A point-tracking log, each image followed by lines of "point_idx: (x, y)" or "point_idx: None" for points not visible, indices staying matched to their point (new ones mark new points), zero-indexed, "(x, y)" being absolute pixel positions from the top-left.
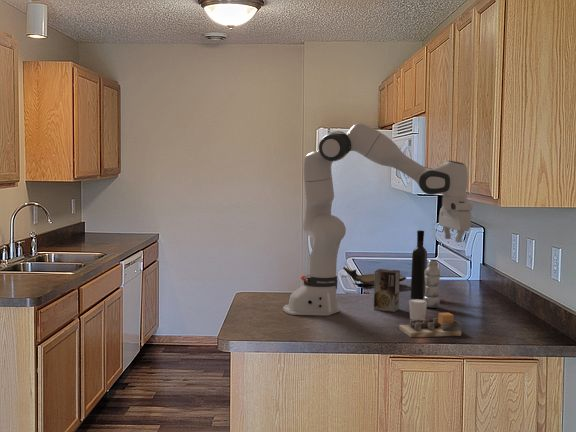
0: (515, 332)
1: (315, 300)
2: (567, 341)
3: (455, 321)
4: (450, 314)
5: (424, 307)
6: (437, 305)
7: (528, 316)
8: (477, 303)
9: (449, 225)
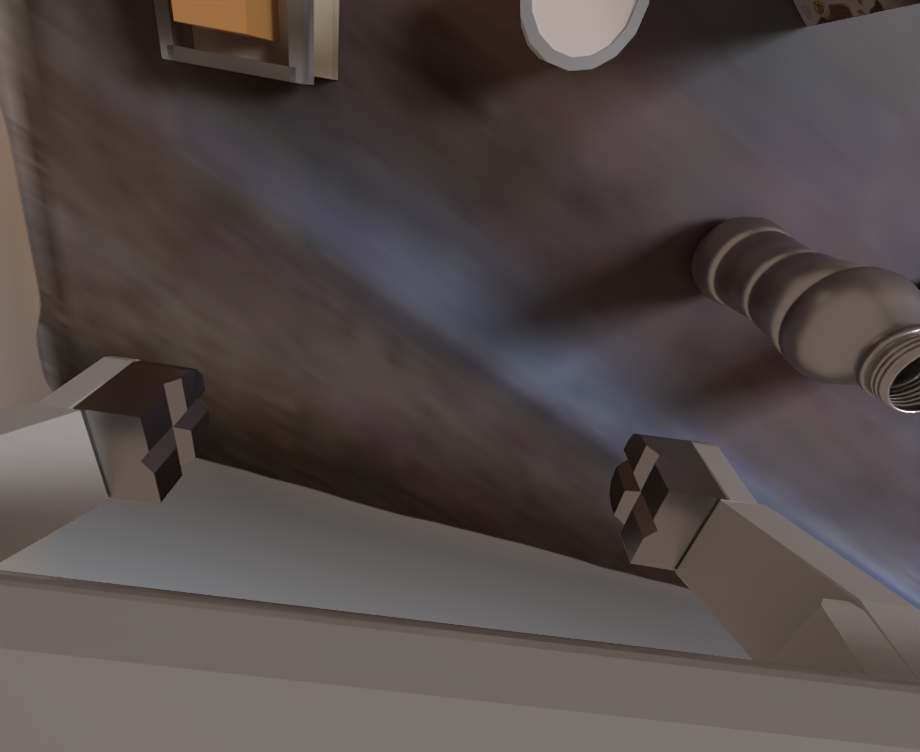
0: (231, 338)
1: None
2: None
3: (212, 52)
4: (189, 7)
5: (522, 24)
6: (692, 271)
7: (441, 509)
8: None
9: (323, 731)
